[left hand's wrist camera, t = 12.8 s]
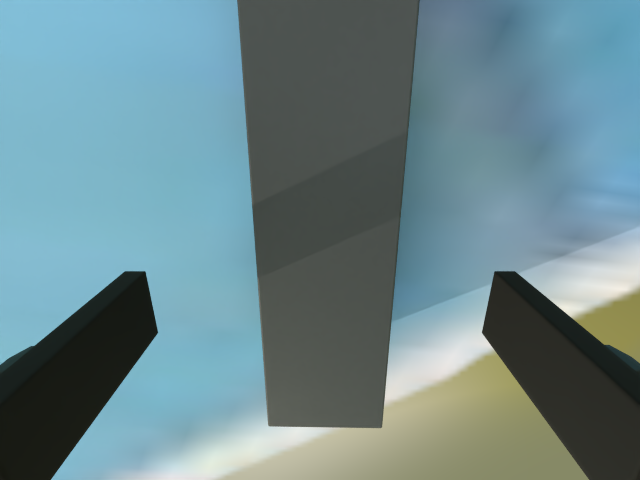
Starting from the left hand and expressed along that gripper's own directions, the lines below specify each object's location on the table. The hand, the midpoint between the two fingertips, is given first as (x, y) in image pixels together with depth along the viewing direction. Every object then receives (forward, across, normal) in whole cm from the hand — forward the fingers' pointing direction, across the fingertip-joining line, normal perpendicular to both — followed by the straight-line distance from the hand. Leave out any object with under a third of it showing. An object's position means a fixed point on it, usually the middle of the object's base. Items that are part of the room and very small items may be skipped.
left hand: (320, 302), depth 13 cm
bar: (+9, 0, -33) cm, 34 cm away
